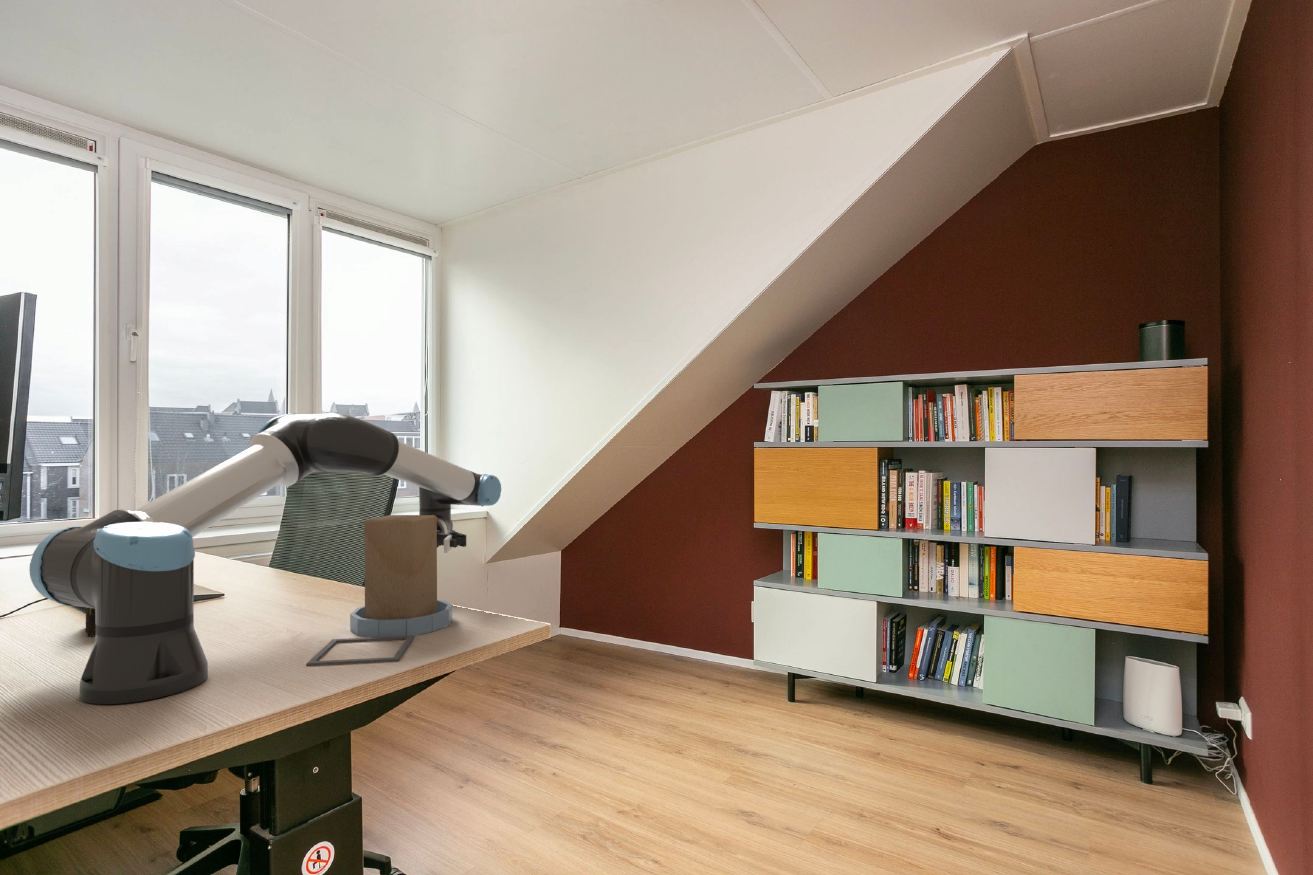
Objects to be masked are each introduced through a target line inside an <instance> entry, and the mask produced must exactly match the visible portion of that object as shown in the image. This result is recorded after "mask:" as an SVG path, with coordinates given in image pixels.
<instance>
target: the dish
mask: <svg viewBox="0 0 1313 875" xmlns="http://www.w3.org/2000/svg"><path fill="white" fill-rule="evenodd" d="M349 616H350V617H349V618H350V619H349V620H350V621H349V629H350V631H351V632H352V633H354V634H355V635H357V636H361V637H366V638H369V637H390V636H411V635H415V636H417V635H423V634H427V633H429V634H430V633H433V632H437V631H438V630H439V631H440V630H441V629H444V628H446V627H448V626H450V624H451V623H452V621H453V604H452V603H450V602H447V601H445V600H443V599H437V613H434V614H431V615H427V616H421V617H415V618H409V619H393V620H376V619H366V618H365V605H364V606H359V607H357V608H355V609H354V610H352V612H351V613H350V614H349Z"/></svg>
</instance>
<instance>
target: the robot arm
mask: <svg viewBox="0 0 1313 875" xmlns="http://www.w3.org/2000/svg"><path fill="white" fill-rule="evenodd" d="M332 472H333V473H335V472H336V473H337V472H338V473H339V472H340V473H343V472H344V473H359V474H360V473H361V474H366V475H369V476H372V477H382V476H384V475H385V476H386V477H390V478H393V479H396V480H399V481H402V482H405V483H407V484H410V485H414V486H416V487H418V492H419V494H418V495H419V496H418V497H419V498H418V500H419V501H418V502H419V507H418V508H419V512H418V515H435V516H436V517H437V549H438V548H439V547H440V546H443V554H444V553H447V554H448V553H449V551H451V549H452V548H454V549H455V548H457V547H458V546H459V547H462V548H466V547H467V534H463V533H461V532H458V531H456V530H454V528H453V526H454V524H453V521H452V518H451V517H452V513H451V512H452V511H451V510H452V509H451V508H452V507H451V506H453V505H456V506H460V505H461V506H475V507H476V506H477V507H479V506H480V507H486V506H487V507H490V506H494V505H496V504H497V503H498V501H499V500H500V498H501V493H502V484H501V481H500V479H499V477H497V476H495V475H493V474H487V473H483V474H480V473H476V472H474V471H472V470H469V469H466V468H463V466H459V465H456V464H455V463H451V462H450V461H447V460H445V459H443V458H440V457H437V456H436V455H432V454H431V453H428V452H426V451H423V450H421V449H419V448H416V447H414V446H412V445H409V444H407V443H404V442H402V441H400V440H399V438H398V436H397V435H396V434H394V433H393V432H391V431H389V430H387V429H385V428H382V427H380V426H377V425H375V424H373V423H370V422H368V421H366V420H363V419H360V418H357V417H355V416H352V415H348V414H343V413H336V412H332V413H331V412H330V413H309V414H307V413H306V414H302V413H287V414H283V415H279V416H274V417H272V418H271V419H269V420H267V421H266V422H265V423H264V424H263V425H262V426H261V427H260V428H259V430H258V433H256V434H255V435H254V436H253V437H252V438H251V439H250V442H249V447H248V448H247V449H245V450H243V451H242V452H239V453H238V454H235V455H234V456H231V457H230V458H228V459H226V460H225V461H223V462H221V463H219V464H217V465H216V466H213V467H212V468H210V469H208V470H206V471H204V472H202V473H201V474H199V475H196V476H195V477H194V478H193V477H192V479H189V480H188V481H186V482H184V483H182V484H180V485H179V486H177V487H175V488H173V489H172V490H169V491H167V492H166V493H164V494H162V495H160V496H159V497H157V498H155V499H153V500H151V501H148V502H147V503H146V504H144V505H142V506H140V507H138V508H137V509H135V510H129V509H125V508H117V509H114V510H112V511H110V512H109V513H107V514H105V515H103V516H101V517H99V518H97V519H96V520H93V521H92V522H89V523H88V524H86V525H83V526H70V527H69V526H68V527H67V528H62V529H59V530H57V531H54V532H53V533H50V534H49V535H47V536H46V537H45V538H43V539H42V540H41V542H39V544H37V546H36V547H35V549H34V550H33V553H32V556H31V559H30V563H29V570H28V572H29V577H30V581H31V583H32V584H33V587H34V588H35V589H36V591H37V592H38V593H39V594H40V595H42V596H43V597H44V598H46V599H47V600H50V601H53V602H56V603H58V604H60V605H63V606H67V607H69V606H70V607H81V608H86V609H87V608H95V618H96V636H95V639H94V643H93V646H92V649H91V652H90V655H89V656H88V660H87V662H86V664H85V667H84V670H83V673H82V675H81V677H80V680H79V699H80V701H83V702H84V703H89V704H95V705H117V704H129V703H135V702H143V701H149V700H155V699H159V698H163V697H167V696H171V695H174V694H177V693H181V692H184V691H186V690H189V689H192V688H194V687H197V686H199V685H200V684H202V683H203V682H205V681H206V680H207V679H208V677H209V674H208V673H209V671H208V669H209V668H208V667H209V666H208V659H207V657H206V655H205V652H204V650H203V647H202V644H201V642H200V639H199V637H198V634H197V632H196V629H195V626H194V623H195V622H194V621H195V620H194V618H195V617H194V607H195V606H194V604H195V603H194V597H195V596H194V589H195V588H194V587H195V586H194V584H195V581H194V579H195V578H194V575H195V572H194V570H195V569H194V568H195V567H194V564H195V563H194V562H195V561H194V559H195V557H196V552H195V547H194V546H195V545H194V539H193V538H194V537H196V536H197V535H199V534H200V533H202V532H203V531H205V530H207V529H208V528H210V527H212V526H213V525H214V524H215V525H216V523H219V522H220V521H221V520H223V519H225V518H226V517H228V516H230V515H231V514H232V513H234V512H236V511H237V510H239V509H240V508H242V507H244V506H246V505H247V504H249V503H251V502H252V501H253V500H256V498H258V497H260V496H262V495H263V494H265V493H266V492H268V491H270V490H271V489H273V488H275V487H276V486H280V487H285V488H286V487H287V488H288V487H291V486H292V485H295V484H296V483H298V482H300V481H302V479H304V478H305V477H307V476H309V475H311V474H312V473H332Z"/></svg>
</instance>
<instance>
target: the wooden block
mask: <svg viewBox="0 0 1313 875" xmlns="http://www.w3.org/2000/svg"><path fill="white" fill-rule="evenodd" d="M363 526H364V527H363V528H364V542H363V543H364V606H365V618H366V619H376V620H393V619H409V618H415V617H421V616H427V615H431V614H434V613H437V600H438V548H437V517H436V516H435V515H419V514H390V515H389V514H388V515H385V516H379V517H375V518H369V519H366V520H365V521H364V524H363Z"/></svg>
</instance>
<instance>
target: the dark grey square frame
mask: <svg viewBox="0 0 1313 875" xmlns="http://www.w3.org/2000/svg"><path fill="white" fill-rule="evenodd" d="M415 636H416V635H411V636H390V637H354V638H353V637H350V638H332V639H331V640H330V641H329V642H328V643H327V644H326V645H325V646H323V647H322V648H321V649H320V650H319V651H318V652H317V653H316V654H315V655H314V656H313V657H311V659H310V660H308V661H307V662H306V664H305V667H310V666H311V667H312V666H313V667H314V666H330V665H334V666H335V665H350V664H352V665H353V664H370V663H371V664H372V663H386V662H387V663H389V662H399V661H400V660H401V658H402V657H403V655H404V654H405V652H406V650H407V649H408V648H409V647H410V645H411V644H412V642H413V641H414V640H415ZM397 640H398V641H402V640H403V643H402V645H401V646H400V647H399V649H398V650H397V651H396V653H395V654H394V655H393V657H389V656H387V657H372V658H371V657H370V658H351V659H333V660H331V659H330V660H321V659H322V658H323V656H325V655H326V654H327V653H328V652H329V651H330V650H331V649H332V648H333V647H334V646H335V645H336V644H339V643H357V642H359V643H361V642H376V641H377V642H378V641H381V642H382V641H397Z"/></svg>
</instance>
